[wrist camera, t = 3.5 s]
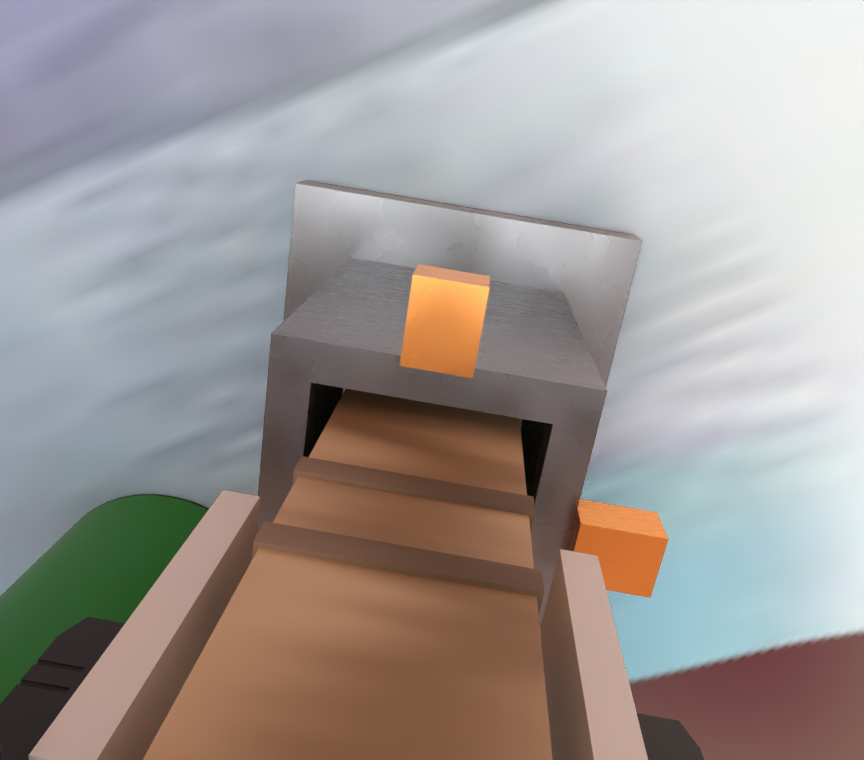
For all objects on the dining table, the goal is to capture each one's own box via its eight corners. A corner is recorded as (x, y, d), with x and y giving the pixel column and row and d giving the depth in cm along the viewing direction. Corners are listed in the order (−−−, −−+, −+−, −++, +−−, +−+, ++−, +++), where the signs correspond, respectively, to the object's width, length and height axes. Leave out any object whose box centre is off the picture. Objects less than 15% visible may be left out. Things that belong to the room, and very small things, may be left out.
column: (369, 427, 27) (-70, 1523, 6) (385, 308, 26) (-129, 1209, 4) (491, 447, 27) (490, 1638, 6) (514, 330, 26) (631, 1362, 4)
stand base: (278, 473, 31) (151, 684, 19) (306, 180, 27) (165, 223, 15) (563, 523, 30) (607, 766, 19) (634, 234, 26) (745, 320, 15)
